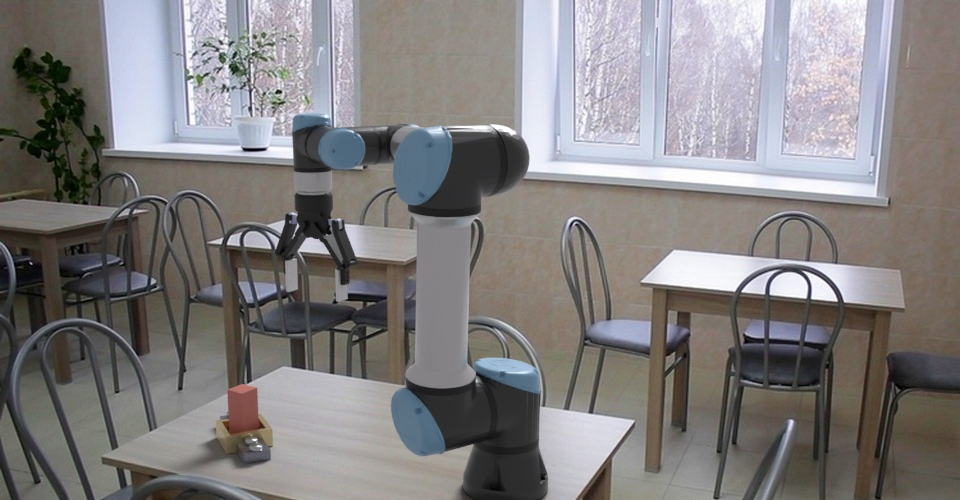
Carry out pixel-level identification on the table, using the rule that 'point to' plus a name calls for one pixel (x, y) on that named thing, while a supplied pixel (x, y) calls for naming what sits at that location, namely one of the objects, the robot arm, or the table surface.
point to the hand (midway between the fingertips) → (316, 295)
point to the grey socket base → (246, 440)
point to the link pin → (243, 409)
